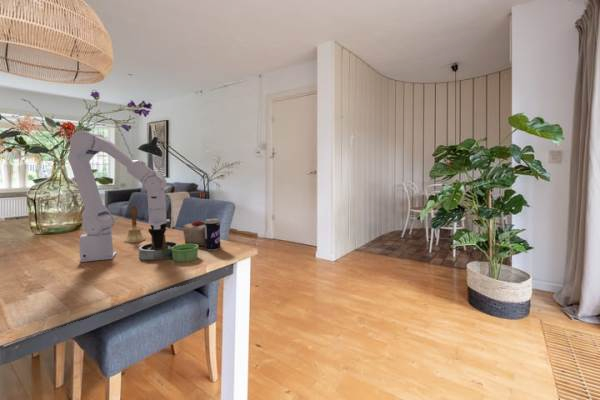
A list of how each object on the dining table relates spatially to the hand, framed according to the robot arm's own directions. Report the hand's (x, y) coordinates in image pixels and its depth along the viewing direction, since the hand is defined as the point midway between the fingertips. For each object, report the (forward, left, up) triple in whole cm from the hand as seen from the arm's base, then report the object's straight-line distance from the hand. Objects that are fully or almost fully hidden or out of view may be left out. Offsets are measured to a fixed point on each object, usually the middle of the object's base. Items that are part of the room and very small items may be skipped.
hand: (159, 245), depth 107 cm
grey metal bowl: (0, 0, -4) cm, 4 cm away
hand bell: (-11, +29, -4) cm, 31 cm away
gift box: (+15, +12, -4) cm, 19 cm away
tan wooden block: (0, 0, -3) cm, 3 cm away
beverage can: (+19, 0, -4) cm, 19 cm away
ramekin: (+9, -8, -4) cm, 13 cm away
